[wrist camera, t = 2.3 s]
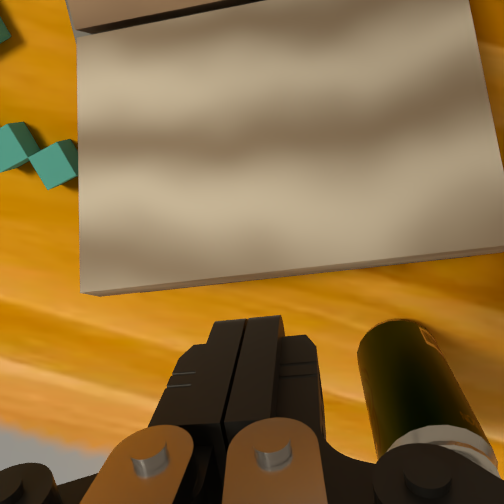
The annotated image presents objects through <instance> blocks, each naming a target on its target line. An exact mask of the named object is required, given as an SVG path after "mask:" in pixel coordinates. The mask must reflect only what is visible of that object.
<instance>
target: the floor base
mask: <svg viewBox="0 0 504 504" xmlns="http://www.w3.org/2000/svg"><path fill="white" fill-rule="evenodd" d="M65 1H66V5H67V9H68V13H69V17H70V21H71V25H72V29H73V32H74V36H75V40H76V44H77V38H78V37H83V36H88V35H93V34H98V33H103V32H108V31H113V30H118V29H123V28H128V27H133V26H138V25H143V24H148V23H154V22H159V21H164V20H169V19H174V18H179V17H184V16H189V15H194V14H199V13H204V12H209V11H214V10H219V9H224V8H229V7H235V6H240V5H245V4H250V3H255V2H260V1H265V0H65ZM464 257H469V256H464ZM455 258H460V257H455ZM446 259H451V258H446ZM437 260H441V259H437ZM428 261H432V260H428ZM419 262H423V261H419ZM410 263H414V262H410ZM401 264H405V263H401ZM392 265H396V264H392ZM382 266H387V265H382ZM373 267H378V266H373ZM364 268H369V267H364ZM355 269H360V268H355ZM346 270H350V269H346ZM337 271H341V270H337ZM328 272H332V271H328ZM319 273H323V272H319ZM310 274H314V273H310ZM301 275H305V274H301ZM292 276H296V275H292ZM282 277H287V276H282ZM273 278H278V277H273ZM264 279H268V278H264ZM255 280H259V279H255ZM246 281H250V280H246ZM237 282H241V281H237ZM228 283H232V282H228ZM219 284H223V283H219ZM210 285H214V284H210ZM201 286H205V285H201ZM191 287H196V286H191ZM182 288H187V287H182ZM173 289H177V288H173ZM164 290H168V289H164ZM155 291H159V290H155ZM146 292H150V291H146ZM140 293H141V292H140Z"/></svg>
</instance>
